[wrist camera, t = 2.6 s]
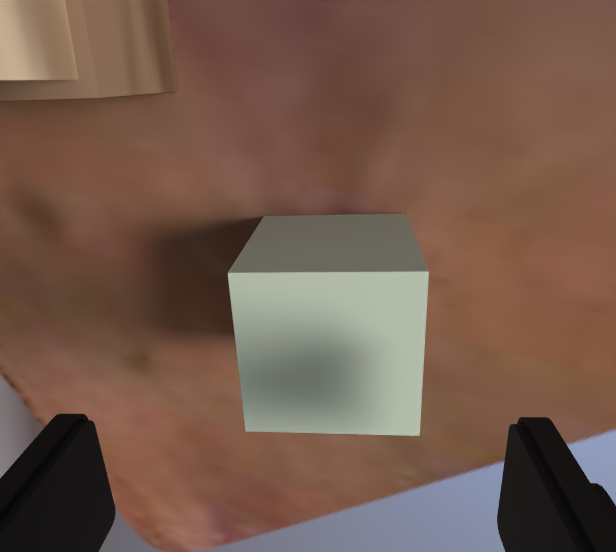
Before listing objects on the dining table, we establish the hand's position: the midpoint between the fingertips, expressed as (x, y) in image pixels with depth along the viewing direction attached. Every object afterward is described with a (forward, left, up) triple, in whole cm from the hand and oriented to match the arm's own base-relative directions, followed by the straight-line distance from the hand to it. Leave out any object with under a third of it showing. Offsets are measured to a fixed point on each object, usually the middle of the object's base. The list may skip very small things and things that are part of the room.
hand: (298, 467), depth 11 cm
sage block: (-1, 0, -10) cm, 10 cm away
